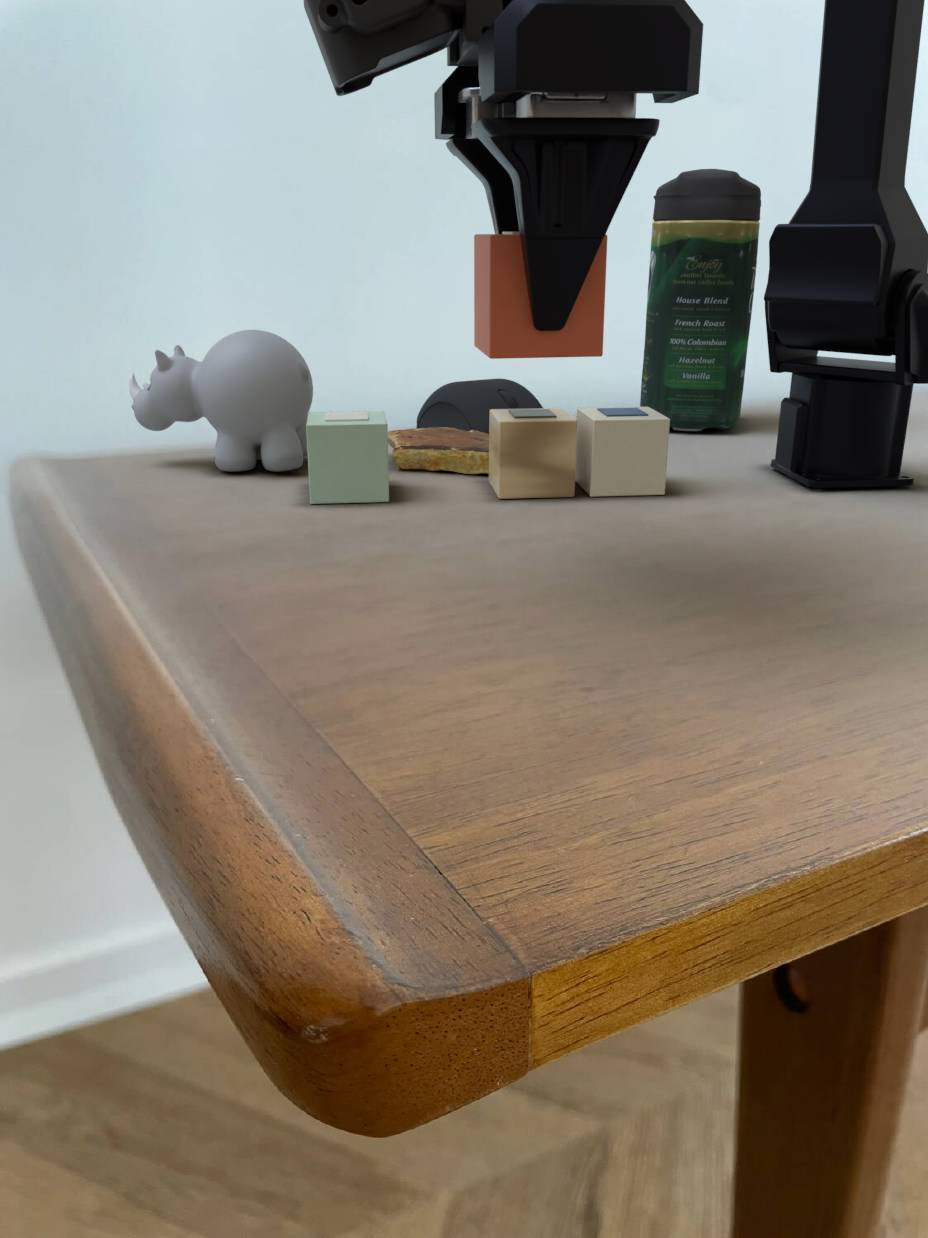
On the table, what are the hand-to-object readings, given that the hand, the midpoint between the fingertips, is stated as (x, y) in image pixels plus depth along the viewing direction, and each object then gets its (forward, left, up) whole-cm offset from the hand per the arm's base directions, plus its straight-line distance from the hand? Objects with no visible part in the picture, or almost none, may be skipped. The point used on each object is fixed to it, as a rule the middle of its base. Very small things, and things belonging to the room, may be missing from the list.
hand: (536, 324), depth 41 cm
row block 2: (-3, -17, -11) cm, 20 cm away
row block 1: (+8, -17, -11) cm, 21 cm away
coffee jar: (-19, -38, -11) cm, 44 cm away
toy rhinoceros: (+16, -26, -11) cm, 32 cm away
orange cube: (0, 0, -1) cm, 1 cm away
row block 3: (-8, -17, -11) cm, 22 cm away
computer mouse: (-2, -35, -11) cm, 37 cm away
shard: (0, -25, -11) cm, 27 cm away
